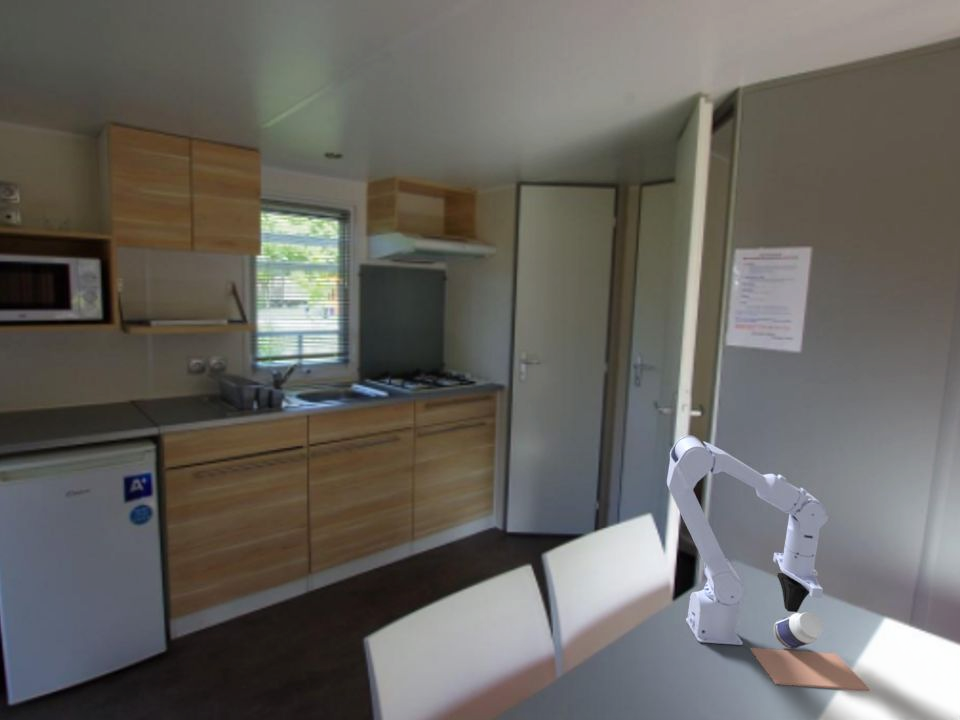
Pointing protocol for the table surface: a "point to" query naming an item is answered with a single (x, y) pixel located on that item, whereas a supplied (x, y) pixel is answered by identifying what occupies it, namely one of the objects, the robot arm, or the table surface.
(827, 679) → the mat
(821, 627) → the pill bottle
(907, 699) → the table surface
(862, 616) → the table surface
